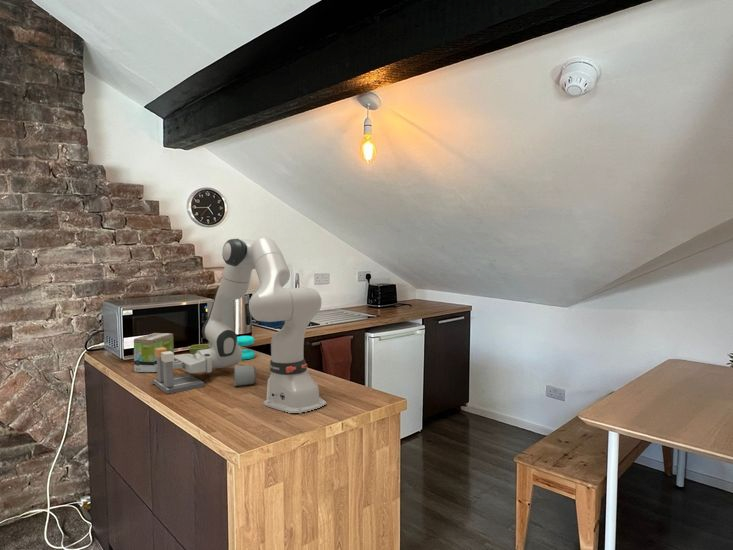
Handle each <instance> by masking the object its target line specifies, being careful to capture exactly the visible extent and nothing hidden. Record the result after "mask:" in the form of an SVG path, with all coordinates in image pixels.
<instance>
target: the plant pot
mask: <svg viewBox="0 0 733 550" xmlns="http://www.w3.org/2000/svg"><path fill="white" fill-rule="evenodd" d="M209 347H210V345H209V344H206V343H205V344H201V343H199V344H192V345H190V346H189V345H188V347H187V348H188V349H189V352H190V353H189V354H192V355H193V354H196V351H197V350H203V349H209Z"/></svg>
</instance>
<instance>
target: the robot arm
mask: <svg viewBox="0 0 733 550" xmlns="http://www.w3.org/2000/svg"><path fill="white" fill-rule="evenodd" d="M222 259H223V261H224V263H225V265H224V268H223V271H222V274H221V275H222V276H221V279H220V284H219V287H218V289H217V291H216V292H215V294H214V298H213V301H212V302H213V304H212V308H211V311H210V314H209V317H208V316H207V319H206V320H205V322H204V323H203V326H202V328H201V334H202V337H203V338H204V339H205V340H207V341H208V343H209V342H211V343H212V348H210V349H203V350H197V351H196V354H193V355H192V354H191V353H181V354H174V361H173V370H174V369H177V370H180V369H181V370H183V371H184V372H186V373H188V374H198V373H199V374H200V373H212V372H213V370H215V369H224V368H228V367H232V366H236V365H237V364H239V363H241V361H242V360H241V358H242V350H243V349H242V346H239V345H238V342H237V337H238V335H237V333H236V332H235V330H234V331H233V330H232V329H231V328H229V327H228V326H227V325H226V324H225V321H224V317H225V314H226V310H227V307H228V304H229V302H230V301H236V300H239V299H242V298H243V297H245V296H246V294H247V292H248V290H249V285H250V282H251V276H252V271H253V270H255V271H256V274H257V278H258V281H259V285H258V286H259V287H258V289H257V291H256V292H254V293H253V294H252V295H251V296H250V299H249V303H248V311H249V314H250V316H251V317H252V319H254V321H257V322H265V323H273V322H281V321H282V322H284V325H283V326H282V327H281V329H279V330H277V332H275V333H274V334H273V335H272V338H271V339H270V354H271V359H270V360H269V370H270V375H269V377H268V379H267V386H266V387H267V388H266V400H264V401H263V406H265V407H268V408H272V409H273V410H279V411H281V412H284V411H285V413H287V412H288V414H290V413H299V414H303V413H302V412H305V413H308V412H307V411H310V412H312V411H311V410H313V411H315V410H314V409H317V408H320V407H322V406H324V405H325V404H326V403H327V401H326V400H324V399H323V398H322V397H321V396H320V390H319V384H318V382H317V381H314V379H313V378H312V377H311V375H310V374H309V372H308V370H307V369H308V363H306V360H305V358H304V345H305V343H304V342H305V335H306V331H307V328H308V327H309V325H310V323H311V321H312V320H313V319H314V318H315V316H317V314H319V312H320V310H321V308H322V298H321V295H320V293H319V292H318V291H317V289H315V288H309V287H304V286H303V287H302V286H300V287H289V288H286V287H285V288H284V286H285V285H286V284H287V283H288V282H289V280H290V278H291V274H290V273H291V270H290V269H289V267H288V265H287V262H286V260H285V258H284V255H283V253H282V251H281V250H280V247H279V246H278V245H277V243H276V242H275V241H274V240H273V239H272V238H271V237H267V236H263V237H259V238H257V239H255V240H254V239H239V238H230V239H228V240H227V241H226V242H225V243H224V245H223V247H222ZM324 407H325V406H324ZM322 408H323V407H322ZM320 409H321V408H320ZM317 410H318V409H317Z"/></svg>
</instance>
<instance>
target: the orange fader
mask: <svg viewBox="0 0 733 550" xmlns="http://www.w3.org/2000/svg"><path fill="white" fill-rule="evenodd" d="M161 352H167V349H166V348H164V347H161V348H155V356H156V357H157V372H156V373H157V374H156V376H157V378H156V379H158V381H160V382H163V381H164V376H163V361H162V360H161Z"/></svg>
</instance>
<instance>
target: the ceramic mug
mask: <svg viewBox="0 0 733 550" xmlns="http://www.w3.org/2000/svg"><path fill="white" fill-rule="evenodd" d="M233 366H234V368H233V385H234V387H238V386H240V387H241V386H249V385H250V386H251V385H254V384H256V383H257V368H256V366H255V365H233Z"/></svg>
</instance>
